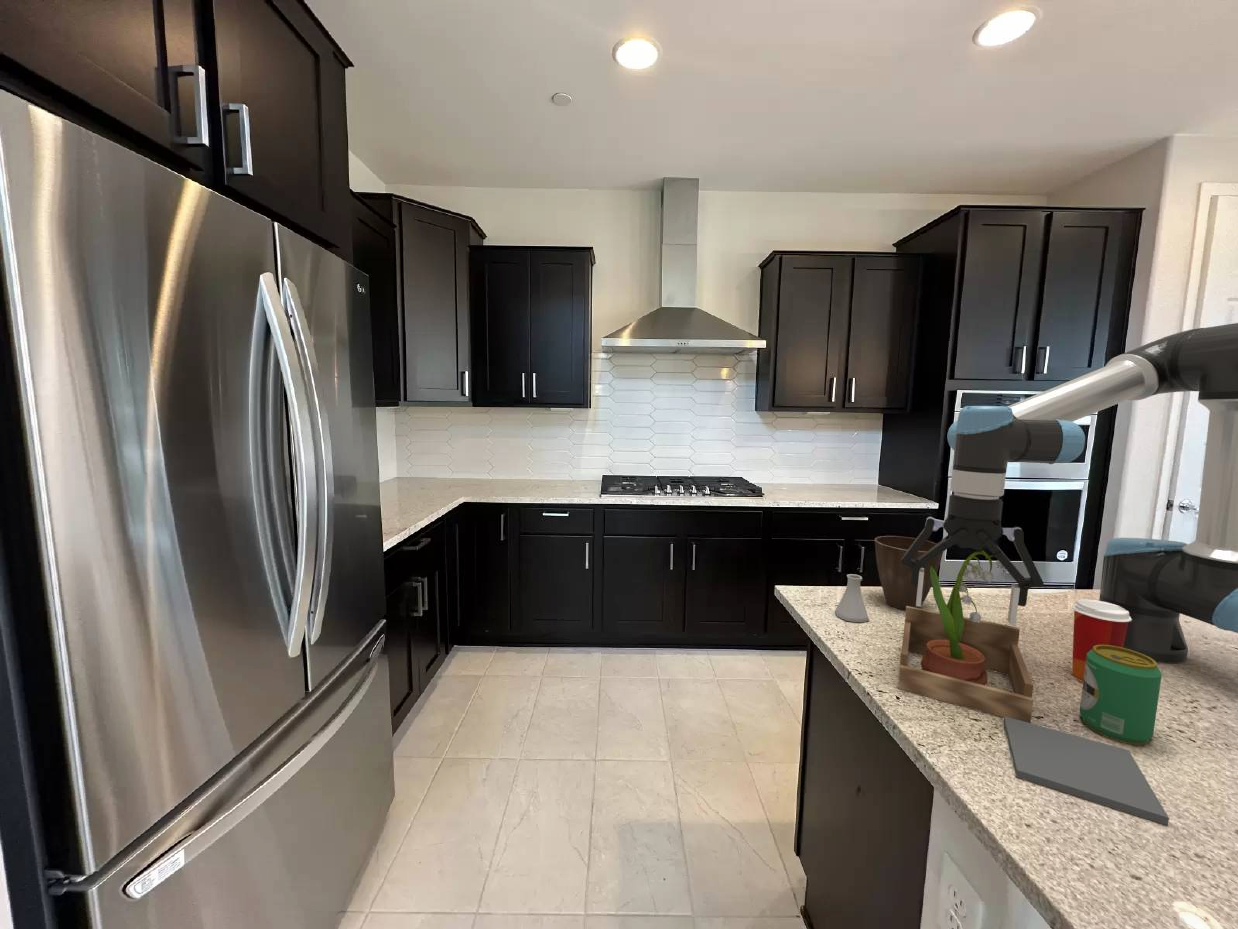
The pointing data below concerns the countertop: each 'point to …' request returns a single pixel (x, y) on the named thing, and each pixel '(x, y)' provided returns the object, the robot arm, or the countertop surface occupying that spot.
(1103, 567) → the robot arm
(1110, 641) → the paper cup
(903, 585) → the plant pot
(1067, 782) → the mat
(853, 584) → the flask
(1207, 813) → the countertop surface
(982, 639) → the frame
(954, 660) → the potted flower
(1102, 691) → the beverage can
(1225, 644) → the countertop surface
